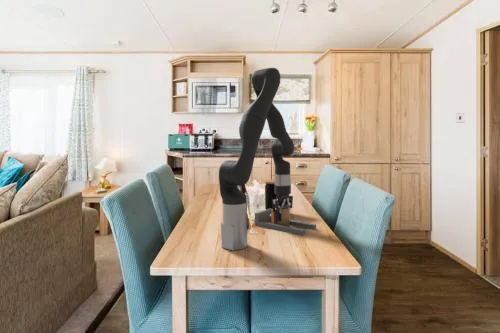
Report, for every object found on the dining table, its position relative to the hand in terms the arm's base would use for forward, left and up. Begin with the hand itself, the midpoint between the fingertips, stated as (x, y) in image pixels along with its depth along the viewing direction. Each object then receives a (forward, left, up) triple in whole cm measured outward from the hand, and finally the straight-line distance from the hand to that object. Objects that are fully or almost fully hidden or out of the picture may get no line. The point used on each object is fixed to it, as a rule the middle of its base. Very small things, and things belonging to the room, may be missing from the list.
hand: (282, 219), depth 149 cm
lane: (0, -1, -3) cm, 4 cm away
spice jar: (0, 0, -3) cm, 3 cm away
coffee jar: (+19, +18, -4) cm, 27 cm away
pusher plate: (0, +5, -3) cm, 6 cm away
